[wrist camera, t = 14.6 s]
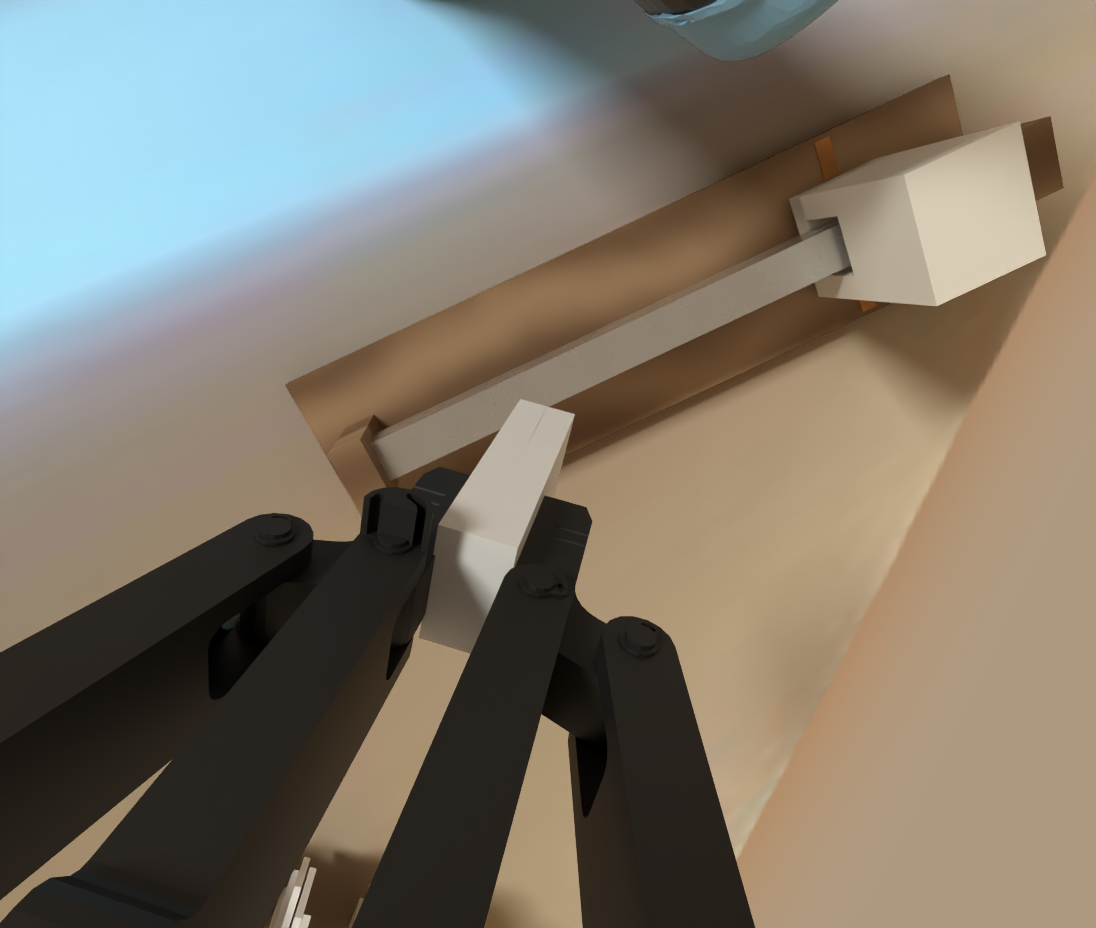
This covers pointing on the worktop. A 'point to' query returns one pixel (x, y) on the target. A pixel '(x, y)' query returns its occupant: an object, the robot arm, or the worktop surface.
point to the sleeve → (930, 219)
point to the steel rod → (613, 348)
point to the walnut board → (627, 301)
